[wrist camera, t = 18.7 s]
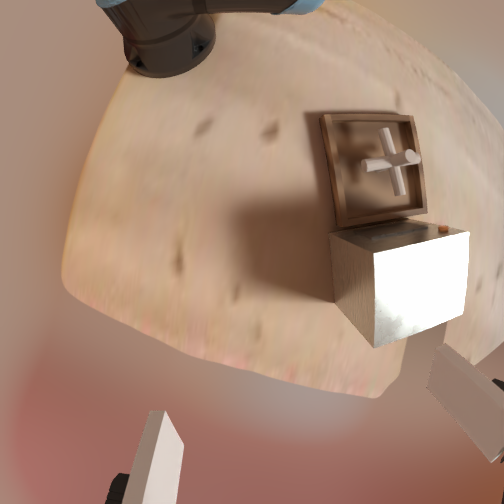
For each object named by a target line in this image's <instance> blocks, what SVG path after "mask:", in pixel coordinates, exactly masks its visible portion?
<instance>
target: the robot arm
mask: <svg viewBox="0 0 504 504" xmlns="http://www.w3.org/2000/svg"><path fill="white" fill-rule="evenodd" d="M324 1H325V0H96V3H97V5H98V6H99V7H101V8H102V9H103V11H104V12H105V13H106V15H107V16H108V17H109V18H110V20H111V21H112V22H113V24H114V25H115V26H116V27H117V29H118V30H119V31H120V33H121V34H122V35H123V40H124V41H123V42H124V53H125V56H126V59H127V61H128V62H129V64H130V65H131V66H132V67H133V68H134V69H135V70H136V71H137V72H138V73H140V74H142V75H144V76H148V77H153V78H166V77H172V76H176V75H179V74H182V73H185V72H187V71H189V70H191V69H192V68H194V67H196V66H197V65H198V64H200V63H201V62H202V61H203V60H204V59H205V58H206V57H207V56H208V55H209V53H210V52H211V50H212V48H213V46H214V44H215V39H216V33H215V25H214V22H213V20H212V18H211V17H210V16H209V14H212V13H234V12H256V13H270V14H272V15H280V14H295V15H304V14H307V13H310V12H313V11H315V10H316V9H317V8H318V7H320V5H321V4H322V3H323V2H324ZM426 388H427V389H428V390H429V391H430V392H431V393H432V395H433V396H434V397H435V398H436V399H437V400H438V401H439V402H440V404H441V405H442V406H443V407H444V408H445V409H446V410H447V412H448V413H449V414H450V415H451V416H452V417H453V418H454V420H455V421H456V422H457V423H458V424H459V425H460V426H461V428H462V429H463V430H464V431H465V432H466V434H467V435H468V436H469V437H470V438H471V440H472V441H473V442H474V443H475V444H476V446H477V447H478V448H479V449H480V450H481V452H482V453H483V454H484V455H485V456H486V458H487V459H488V460H489V461H490V463H491V462H493V461H494V460H495V459H496V458H497V457H499V455H501V454H502V453H503V451H504V382H503V381H500V380H497V379H493V380H492V381H491V380H490V379H489V378H487V377H486V376H485V375H484V374H483V373H482V372H480V371H479V370H478V369H477V368H476V367H474V366H473V365H472V364H471V363H470V362H468V361H467V360H466V359H465V358H464V357H462V356H461V355H460V354H459V353H457V352H456V351H455V350H454V349H452V348H451V347H450V346H449V345H447V344H446V343H445V344H443V345H441V346H439V347H437V348H435V353H434V358H433V362H432V367H431V372H430V376H429V380H428V384H427V387H426ZM183 450H184V444H183V443H182V441H181V439H180V437H179V435H178V434H177V432H176V430H175V428H174V426H173V425H172V423H171V421H170V419H169V417H168V415H167V413H166V411H150V413H149V415H148V419H147V422H146V425H145V428H144V431H143V434H142V437H141V440H140V444H139V447H138V450H137V453H136V456H135V459H134V463H133V466H132V469H131V473H130V474H122V473H119V474H118V475H117V476H116V477H115V478H114V479H113V481H112V483H111V486H110V489H109V493H108V495H107V500H106V502H105V504H176V499H177V491H178V484H179V477H180V470H181V463H182V456H183ZM503 461H504V456H503V457H502V459H501V462H500V463H502V462H503ZM502 504H504V492H503V498H502Z"/></svg>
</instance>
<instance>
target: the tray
mask: <svg viewBox="0 0 504 504" xmlns="http://www.w3.org/2000/svg"><path fill="white" fill-rule="evenodd" d="M319 121H320V126H321V130H322V135H323V141H324V146H325V151H326V157H327V163H328V169H329V175H330V181H331V188H332V195H333V202H334V209H335V217H336V225H337V226H340V227H347V226H353V225H359V224H365V223H371V222H377V221H383V220H389V219H395V218H401V217H407V216H413V215H420V214H426V213H428V212H427V199H426V189H425V180H424V172H423V165H422V158H421V161H420V163H419V164H412V165H406V166H400V170H401V174H402V178H403V183H404V187H405V192H406V194H405V195H400V196H395V195H394V191H393V186H392V182H391V178H390V174H389V170H384V171H381V172H376V171H369V172H364V171H363V169H362V166H361V161H362V160H363V159H369V158H375V157H382V156H385V155H384V151H383V148H382V144H381V141H380V138H379V134H378V131H377V130H379V129H382V128H389V131H390V135H391V138H392V141H393V144H394V148H395V151H396V154H397V153H399V152H402V151H405V150H408V149H411V150H413V151H414V152H418V153H419V155H420V157H421V152H420V147H419V141H418V136H417V131H416V126H415V122H414V118H413V116H409V115H392V114H325V115H323V116H322V117H321V118H319Z"/></svg>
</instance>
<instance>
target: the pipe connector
mask: <svg viewBox="0 0 504 504" xmlns="http://www.w3.org/2000/svg"><path fill="white" fill-rule="evenodd" d="M377 131H378V134H379V138H380V141H381V144H382V148H383V151H384V155H385V156H382V157H375V158H369V159H363V160H362V161H361V166H362V169H363V171H364V172H369V171H376V172H381V171H384V170H389V174H390V178H391V182H392V186H393V191H394V195H395V196H400V195H405V194H406V192H405V187H404V183H403V178H402V174H401V170H400V166H406V165H412V164H419V163H420V161H421V157H420V155H419V153H418V152H414V151H413V150H411V149H408V150H405V151H402V152H399V153H397V154H396V151H395V148H394V144H393V141H392V138H391V135H390V131H389V128H382V129H379V130H377Z"/></svg>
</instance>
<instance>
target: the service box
mask: <svg viewBox="0 0 504 504" xmlns="http://www.w3.org/2000/svg"><path fill="white" fill-rule="evenodd" d="M328 234H329V243H330V253H331V263H332V274H333V287H334V301H335V304H336V306H337V307H338V308H339V309H340V310H341V311H342V312H343V313H344V315H345V316H346V317H347V318H348V319H349V320H350V321H351V323H352V324H353V325H354V326H355V327H356V328H357V330H358V331H359V332H360V333H361V334H362V335H363V336H364V338H365V339H366V340H367V341H368V342H369V343H370V345H371V346H372V347H373V348H376V347H380V346H383V345H385V344H388V343H391V342H394V341H397V340H400V339H402V338H405V337H408V336H410V335H413V334H415V333H418V332H421V331H423V330H425V329H428V328H431V327H433V326H435V325H438V324H440V323H442V322H445V321H447V320H449V319H451V318H454V317H456V316H458V315H460V314H462V313H463V307H464V299H465V291H466V281H467V268H468V244H469V232H467V231H463V230H459V229H454V228H450V227H448V226H441V225H436V224H431V223H426V222H421V221H416V220H411V219H408V220H402V221H396V222H390V223H384V224H378V225H372V226H367V227H361V228H355V229H349V230H343V231H338V232H332V233H328Z"/></svg>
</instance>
